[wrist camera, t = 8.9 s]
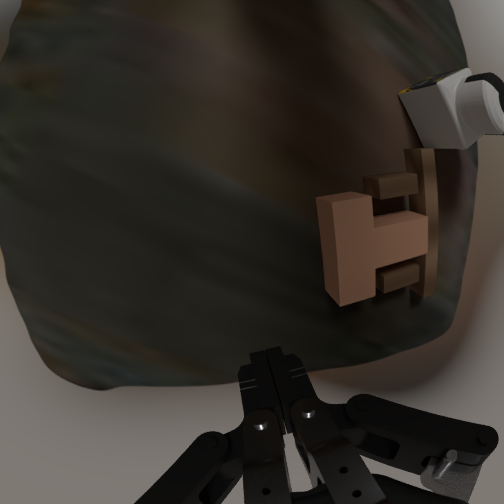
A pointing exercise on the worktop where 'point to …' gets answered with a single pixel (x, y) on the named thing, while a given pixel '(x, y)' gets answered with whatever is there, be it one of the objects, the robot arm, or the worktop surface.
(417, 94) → the medicine bottle
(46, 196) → the worktop surface
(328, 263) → the T block
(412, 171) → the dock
